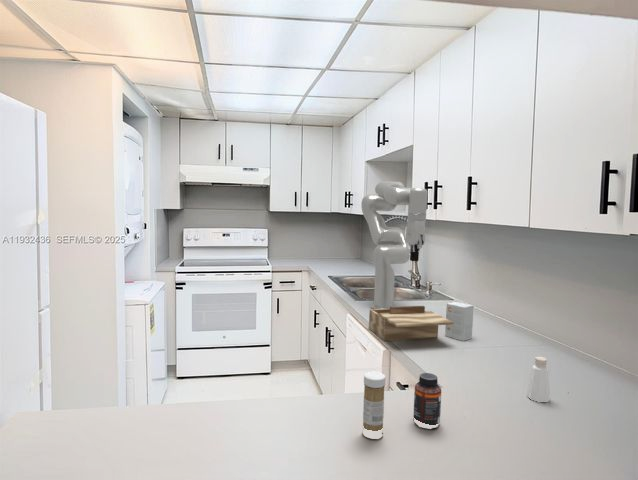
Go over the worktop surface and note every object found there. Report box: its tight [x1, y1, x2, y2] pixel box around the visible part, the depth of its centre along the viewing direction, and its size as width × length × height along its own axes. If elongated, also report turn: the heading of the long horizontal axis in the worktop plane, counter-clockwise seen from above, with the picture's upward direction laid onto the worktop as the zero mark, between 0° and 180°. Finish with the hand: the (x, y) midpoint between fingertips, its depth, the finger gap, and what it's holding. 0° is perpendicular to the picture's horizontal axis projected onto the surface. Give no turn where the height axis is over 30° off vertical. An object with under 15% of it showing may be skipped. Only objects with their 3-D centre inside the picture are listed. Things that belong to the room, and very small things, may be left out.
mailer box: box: [368, 308, 439, 342], centre depth 163 cm, size 16×22×8 cm
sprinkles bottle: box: [362, 371, 386, 431], centre depth 89 cm, size 5×5×13 cm
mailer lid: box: [379, 305, 453, 327], centre depth 153 cm, size 16×22×3 cm
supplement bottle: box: [413, 372, 442, 425], centre depth 94 cm, size 6×6×11 cm
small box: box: [444, 301, 474, 342], centre depth 160 cm, size 8×6×13 cm
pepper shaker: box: [526, 356, 551, 403], centre depth 109 cm, size 5×5×11 cm
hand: (414, 260), depth 176 cm, fingers closed
